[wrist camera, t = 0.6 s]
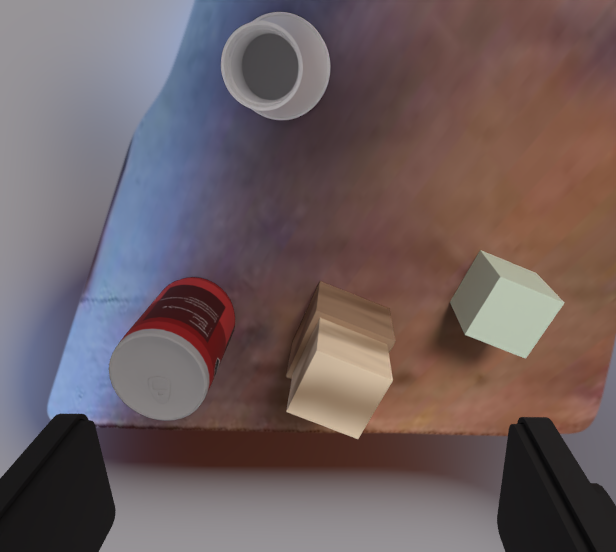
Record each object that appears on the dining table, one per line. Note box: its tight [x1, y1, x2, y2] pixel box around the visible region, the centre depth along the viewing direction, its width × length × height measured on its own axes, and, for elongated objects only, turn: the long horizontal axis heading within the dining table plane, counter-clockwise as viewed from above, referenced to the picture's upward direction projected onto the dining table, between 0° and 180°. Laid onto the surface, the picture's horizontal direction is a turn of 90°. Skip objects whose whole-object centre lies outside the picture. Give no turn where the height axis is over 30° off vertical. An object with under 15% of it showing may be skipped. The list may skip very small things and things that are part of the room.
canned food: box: [109, 277, 235, 421], centre depth 41 cm, size 8×8×11 cm
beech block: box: [286, 318, 393, 439], centre depth 38 cm, size 6×6×5 cm
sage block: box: [450, 250, 564, 359], centre depth 41 cm, size 6×6×6 cm
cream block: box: [286, 281, 396, 379], centre depth 43 cm, size 7×7×6 cm
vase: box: [221, 12, 330, 120], centre depth 33 cm, size 8×8×10 cm
